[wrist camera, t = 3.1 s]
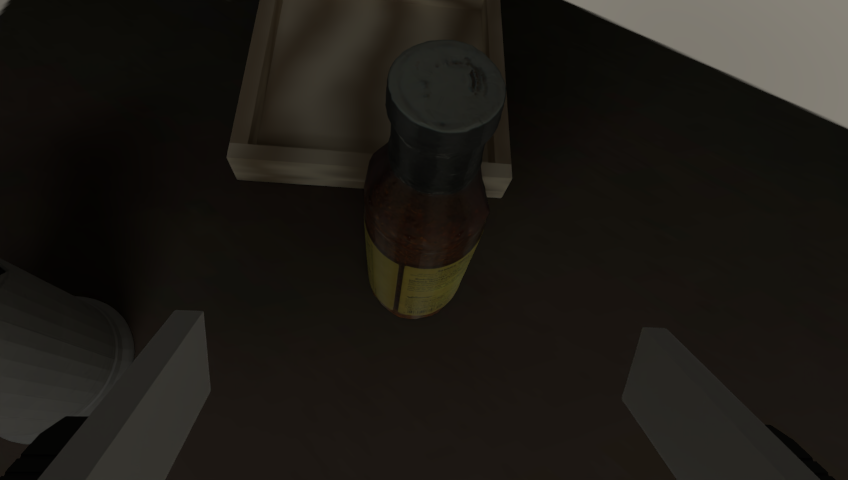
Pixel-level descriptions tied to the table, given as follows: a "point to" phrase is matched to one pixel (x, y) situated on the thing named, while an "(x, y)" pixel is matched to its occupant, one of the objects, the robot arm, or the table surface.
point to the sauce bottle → (430, 175)
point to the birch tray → (345, 85)
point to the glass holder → (54, 354)
